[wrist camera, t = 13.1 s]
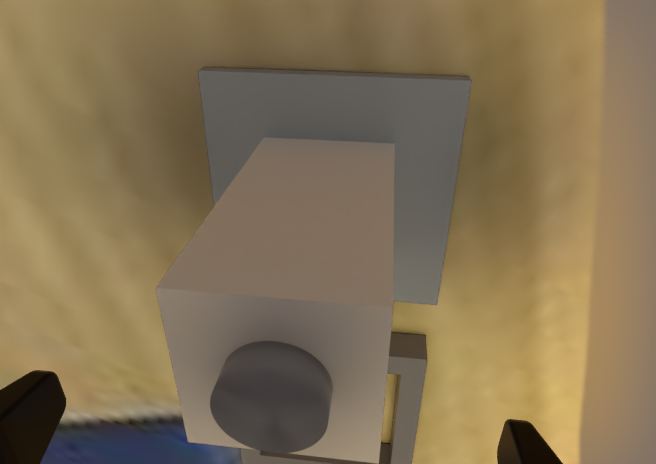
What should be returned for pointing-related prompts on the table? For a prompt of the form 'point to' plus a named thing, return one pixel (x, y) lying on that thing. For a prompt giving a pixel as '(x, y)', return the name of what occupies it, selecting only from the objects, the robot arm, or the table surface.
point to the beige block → (289, 303)
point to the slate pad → (359, 126)
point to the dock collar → (411, 370)
